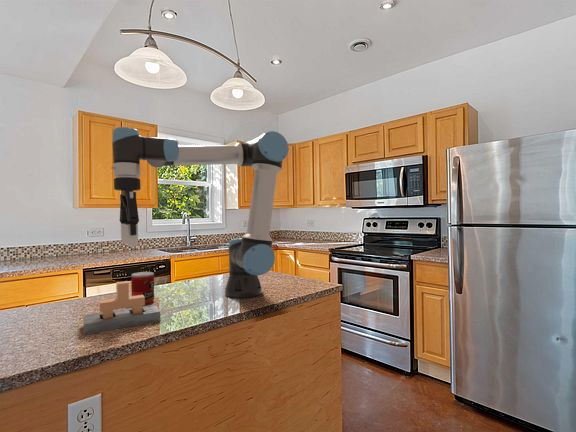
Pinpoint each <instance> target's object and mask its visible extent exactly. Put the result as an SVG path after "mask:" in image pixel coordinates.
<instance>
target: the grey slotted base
mask: <svg viewBox="0 0 576 432" xmlns="http://www.w3.org/2000/svg"><path fill="white" fill-rule="evenodd" d="M157 322H161V310H160V309H159V308H158V307H157V306H156V304H154V303H153V304H150V305H149V304H147V305H142V313H136V314H132V307H129V308H123V309H116V310H113V317H112V318H106V319H103V316H102V312H98V313H91V314H85V315H83V336H86V335H93V334H98V333H103V332H107V331H113V330H119V329H123V328H130V327H134V326H141V325H145V324H151V323H157Z"/></svg>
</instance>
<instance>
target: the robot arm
mask: <svg viewBox="0 0 576 432" xmlns="http://www.w3.org/2000/svg"><path fill="white" fill-rule="evenodd" d="M111 143H112V163H113V166H111V168H110V169H111V170H113V176H114V178H113V189H114V190H115V191H122V193H120V194H119V201H120V206H119V209H120V210H119V222H120V239H121V242H120V243H121V244H127V247H128V248H129V247H139V229H138V228H139V227H138V226H139V225H138V224H139V223H140V219H139V217H140V216H139V209H138V204H137V192H136V191H140V190H141V187H142V186H141V185H142V184H141V179H140V178H141V163H140V161H146V162H147V163H148V164H149V166H151V167H154V168H162V167H170V166H173V167H174V166H206V165H209V166H210V165H236V166H238V167H251V168H252V169H253V171H254V174H253V175H254V176H253V183H252V191H251V199H250V205H249V206H250V207H249V212H248V213H249V214H248V220H247V221H248V222H247V227H246V228H247V229H246V233H245V234H244V235H243V236H241V238H240V237H239V238H232V239H230V240H229V243H228V268H229V269H228V271H229V272H228V278H227V281H226V285H225V287H224V294H225V296H226V297H229V298H235V299H245V298H246V299H247V298H253V297H258V296H260V295H261V294H262V293H263V292H262V290H263V289H262V288H263V287H262V285H261V282H260V279H259V278H260V277H258V276H263V275H265V274H267V273H268V272H270V271H271V270H272V268H273V267H274V264H275V262H276V256H275V255H276V254H275V252H274V250H273V238H272V237H271V235H270V234H271V233H270V232H271V225H272V216H273V208H274V199H275V192H276V184H277V175H278V174H279V173H280V172H281V171H282V168H283V161H284V160H285V159H286V158H287V156H288V154H289V144H288V141H287V140H286V138H285V136H284V135H283V134H281V133H280V132H278V131H274V130H272V131H271V130H269V131H267V132H263V133H262V134H260V135H259V136H258V137H256V138H254V139H252V140H249V141H247V142H237V143H236V144H228V145H227V144H223V145H222V144H220V145H219V144H217V145H216V144H213V145H211V144H210V145H209V144H207V145H205V144H203V145H202V144H200V145H199V144H198V145H197V144H196V145H195V144H192V145H191V144H189V145H188V144H187V145H184V144H183V145H182V144H181V145H180V144H179V141H178V140H177V139H175V138H170V137H155V136H143V135H140V132H139V130H138V129H136V128H133V127H128V126H119V127H115V128H114V129H113V130H112V142H111Z"/></svg>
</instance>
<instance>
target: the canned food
mask: <svg viewBox="0 0 576 432" xmlns="http://www.w3.org/2000/svg"><path fill="white" fill-rule="evenodd" d="M130 277H131V279H130V283H131V284H130V285H131V287H130V289H131V290H130V291H131V296H137V295H144V297H145V305H144V306H148V305H149V304H150V305H151V304H152V303H154V301H155V273H154V272H152V271H140V272H133V273H131V276H130Z"/></svg>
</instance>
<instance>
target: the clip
mask: <svg viewBox="0 0 576 432" xmlns="http://www.w3.org/2000/svg"><path fill="white" fill-rule="evenodd" d="M129 286H130V285H129V281H128V280H125V281H116V285H115V291H116V294H115V297H116V298H109V299H101V300H99V301H98V303H99V304H98V305H99V313H102V316H103V319H106V318H112V317H113V311H116V310H123V309H129V308H132V314H136V313H142V306H146V305H145V297H144V295H137V296H132V295H130V291H129V288H130V287H129ZM129 295H130V296H129Z"/></svg>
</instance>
